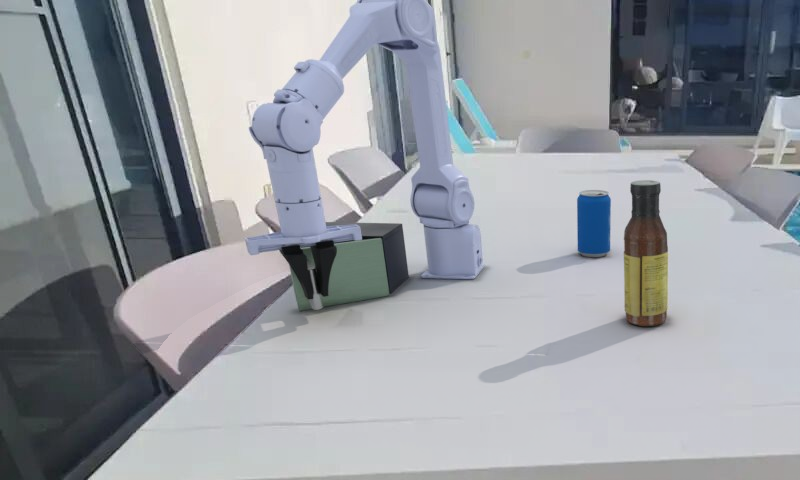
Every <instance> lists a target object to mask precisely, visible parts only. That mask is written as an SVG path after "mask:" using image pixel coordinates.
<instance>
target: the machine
mask: <svg viewBox="0 0 800 480" xmlns="http://www.w3.org/2000/svg"><path fill="white" fill-rule="evenodd" d="M325 222H326V226H340V225H353V224H356V225H358V226H360V229H361V235H362V240H367V239H375V238H381V239H382V244H383V252H384V259H385V266H386V273H387V280H388V287H389V295H392V293H393V292H395V291H396V290H397V289H398V288H399V287H400V286H402V285H403V284H404V283H405V282H406V281H407V280H408V279H409V278H410V275H409V267H408V259H407V251H406V243H405V234H404V228H403V223H399V222H398V223H394V222H393V223H391V222H347V221H345V222H342V221H341V222H340V221H338V222H337V221H336V222H335V221H325ZM351 241H354V240H349V241H341V242H334V244H335V243H343V242H351ZM357 241H359V240H357ZM305 247H310V246H305ZM300 248H303V247H300Z"/></svg>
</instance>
